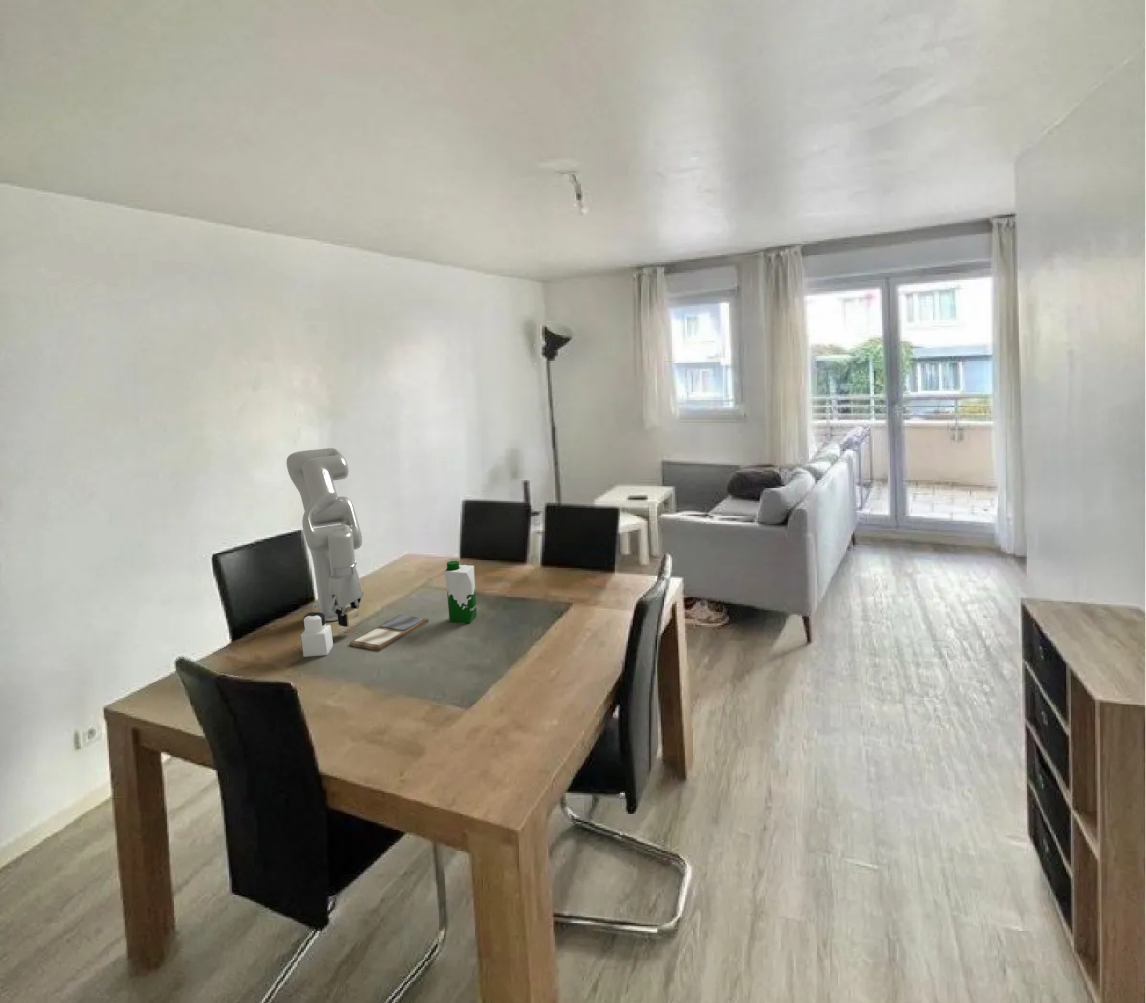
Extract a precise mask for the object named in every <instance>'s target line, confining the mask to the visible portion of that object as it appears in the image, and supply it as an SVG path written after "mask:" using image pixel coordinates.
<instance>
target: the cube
mask: <svg viewBox="0 0 1146 1003" xmlns="http://www.w3.org/2000/svg"><path fill="white" fill-rule="evenodd" d="M340 611H341V610H340ZM345 615H346V618H347V626H346V627H347V628H351V627H352V626H354V625H356V624H358V623H359V622H360V617H359V615H360V614H359V608H358V609H356V608H352V607H346V608H345ZM346 627H345V628H346Z"/></svg>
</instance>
